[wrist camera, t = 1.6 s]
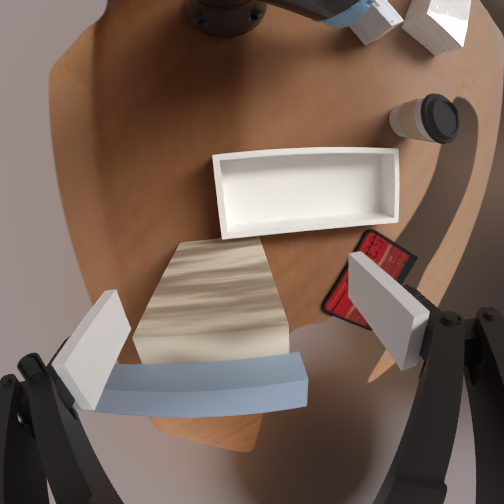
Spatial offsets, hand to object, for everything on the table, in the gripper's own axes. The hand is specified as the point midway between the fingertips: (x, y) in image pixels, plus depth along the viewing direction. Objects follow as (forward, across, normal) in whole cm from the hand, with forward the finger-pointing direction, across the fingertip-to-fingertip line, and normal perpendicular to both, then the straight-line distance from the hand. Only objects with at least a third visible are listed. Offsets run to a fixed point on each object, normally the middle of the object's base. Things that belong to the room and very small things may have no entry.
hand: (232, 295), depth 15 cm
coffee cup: (+38, +37, +12) cm, 54 cm away
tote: (+38, +14, 0) cm, 40 cm away
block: (+8, -8, -13) cm, 17 cm away
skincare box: (+38, +31, +32) cm, 59 cm away
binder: (+39, +27, -23) cm, 52 cm away
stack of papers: (+38, +56, +46) cm, 82 cm away
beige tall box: (+38, -4, -13) cm, 40 cm away
